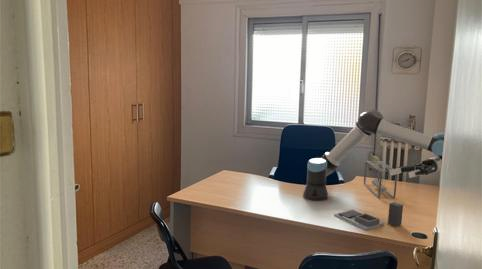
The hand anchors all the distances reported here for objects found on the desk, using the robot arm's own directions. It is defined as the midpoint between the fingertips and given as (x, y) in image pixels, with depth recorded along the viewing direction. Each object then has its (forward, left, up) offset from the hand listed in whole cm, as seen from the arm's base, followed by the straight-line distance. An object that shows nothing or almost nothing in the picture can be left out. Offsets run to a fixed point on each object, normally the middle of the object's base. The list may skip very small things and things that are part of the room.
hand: (399, 174), depth 190 cm
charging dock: (-9, -18, -25) cm, 32 cm away
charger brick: (+4, -6, -25) cm, 26 cm away
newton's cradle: (-36, +32, -25) cm, 55 cm away
